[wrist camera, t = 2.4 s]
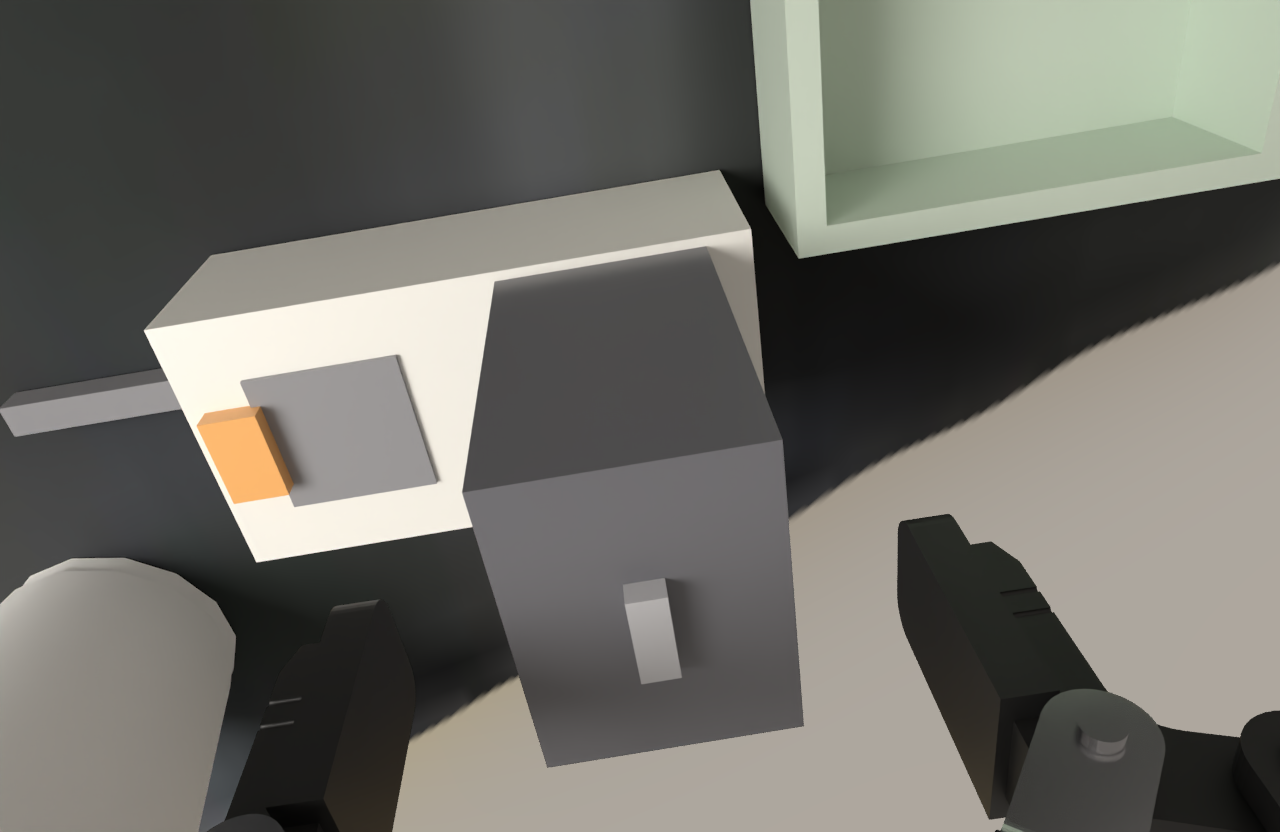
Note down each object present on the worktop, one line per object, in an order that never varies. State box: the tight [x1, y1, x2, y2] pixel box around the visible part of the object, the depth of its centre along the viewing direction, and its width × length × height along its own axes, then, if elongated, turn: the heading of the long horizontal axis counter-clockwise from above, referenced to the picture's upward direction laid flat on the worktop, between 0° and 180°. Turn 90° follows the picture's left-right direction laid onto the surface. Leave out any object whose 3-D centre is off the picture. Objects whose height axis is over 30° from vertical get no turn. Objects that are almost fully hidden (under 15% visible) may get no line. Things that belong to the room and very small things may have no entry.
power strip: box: [0, 170, 765, 562], centre depth 21 cm, size 6×18×4 cm, turn 99°
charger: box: [462, 246, 804, 767], centre depth 17 cm, size 6×4×9 cm
